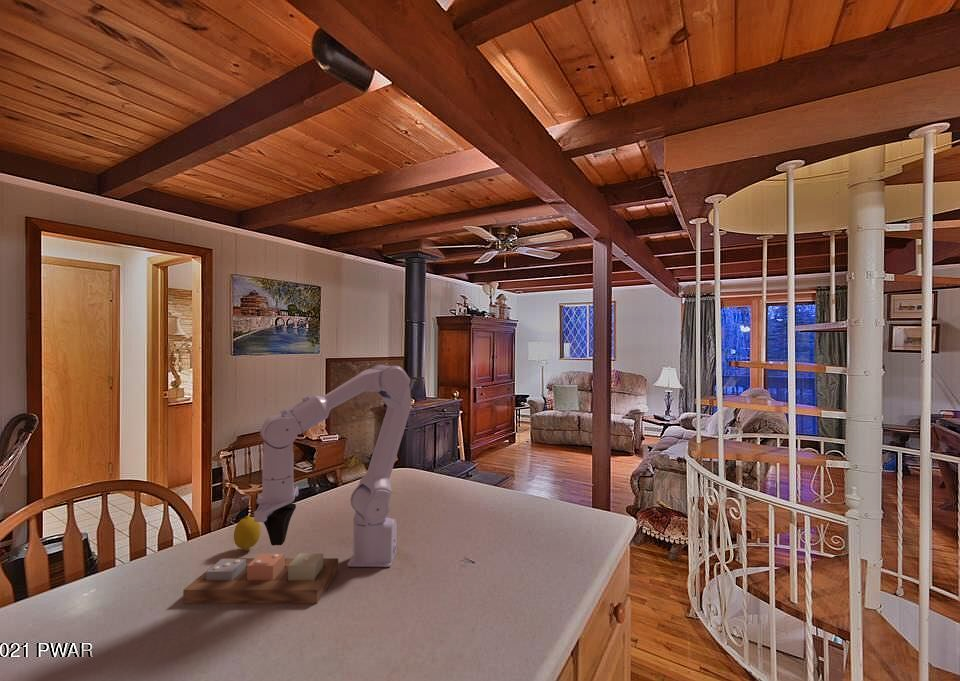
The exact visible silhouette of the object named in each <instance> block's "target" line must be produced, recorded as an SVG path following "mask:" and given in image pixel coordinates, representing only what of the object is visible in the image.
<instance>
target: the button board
mask: <svg viewBox="0 0 960 681" xmlns="http://www.w3.org/2000/svg"><path fill="white" fill-rule="evenodd" d="M255 558H256V557H251V558H249V557H248V558H247V557H246V558H245V557H243V558H241V557H238V558H237V557H236V558H235V557H230V558H229V557H225V558H224V557H222V558H221V559H246V568H245V569H244V570H243V571H242V572H241V573H240V574H239V575H238V576H237V577H236V578H235V579H233V580H206V571H208V570H209V569H210V568H208V569H207V570H206V571H205V572H203V573H202V574H201V575H200V576H199V577H197V578H196V579H194V580H193V581H192V582H191V583H189V585H187V586H186V587H185V588H184V589H182V590H183V596H182V597H183V598H182V602H183V604H318V603H319V601H320V599H321V598H322V597H323V595H324V593H325V592H326V590H327V588H328V587H329V586H330V584H331V582H332V580H333V579H334V578H335V576H336V575H337V573H338V571H339V558H335V557H334V558H330V557H329V558H328V557H327V558H325V557H323V570H322V571H321V572H320V574H319V575H318V577H317V578H316V580H315V581H288V566H289V564H290V563H291V562H292V561H293V560H294V559H295V558H296V557H295V558H293V557H291V558H290V557H286V558H285V568H284V569H283V571H282V572H281V573H280V574H279V575H278V576H277V577H276V578H275V580H274V581H260V580H247V566H248V565H249V564H250V563H251V562H252V561H253V560H254V559H255ZM221 559H219V560H218V561H217V562H216V563H218V562H219V561H220V560H221ZM216 563H214V564H213V565H212V566H211V567H213V566H214V565H215V564H216Z"/></svg>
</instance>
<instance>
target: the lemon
mask: <svg viewBox="0 0 960 681" xmlns="http://www.w3.org/2000/svg"><path fill="white" fill-rule="evenodd" d="M260 537H261V524H260V522H254V516H250V515H245V517H243V518H242V519H240V521H238V522H237V523H236V525H235V528H234V532H233V541H234V544H235V545H236V547H238V548H240V549H243V550H244V551H249V550H250V549H251V548H253V547H254V546H255V545H256V544H257V543H258V541H259V540H260Z"/></svg>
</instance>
